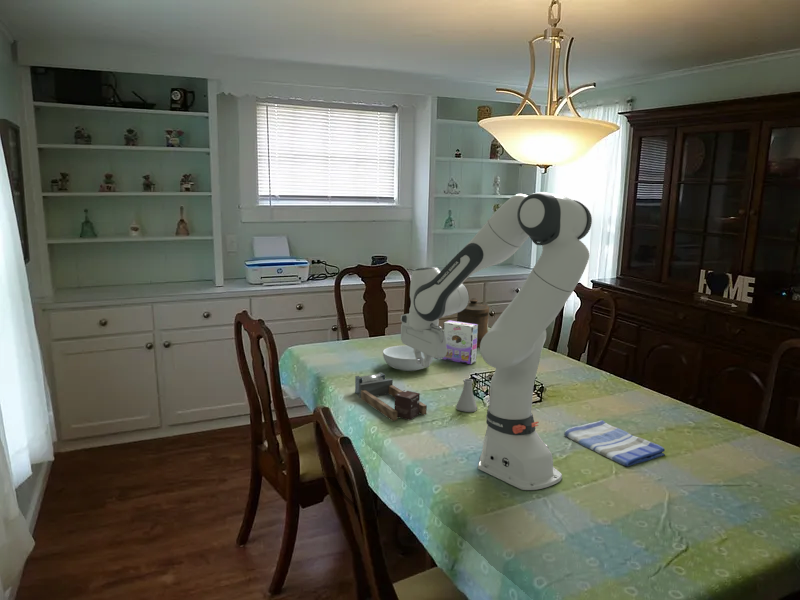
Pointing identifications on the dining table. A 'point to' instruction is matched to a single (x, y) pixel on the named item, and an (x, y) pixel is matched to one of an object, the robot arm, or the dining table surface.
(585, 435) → the dish towel
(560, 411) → the dining table surface
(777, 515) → the dining table surface
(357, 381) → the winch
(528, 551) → the dining table surface
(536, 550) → the dining table surface
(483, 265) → the robot arm
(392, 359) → the serving bowl
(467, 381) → the flask
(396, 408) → the box
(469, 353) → the candy box
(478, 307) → the wooden container
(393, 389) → the bay
